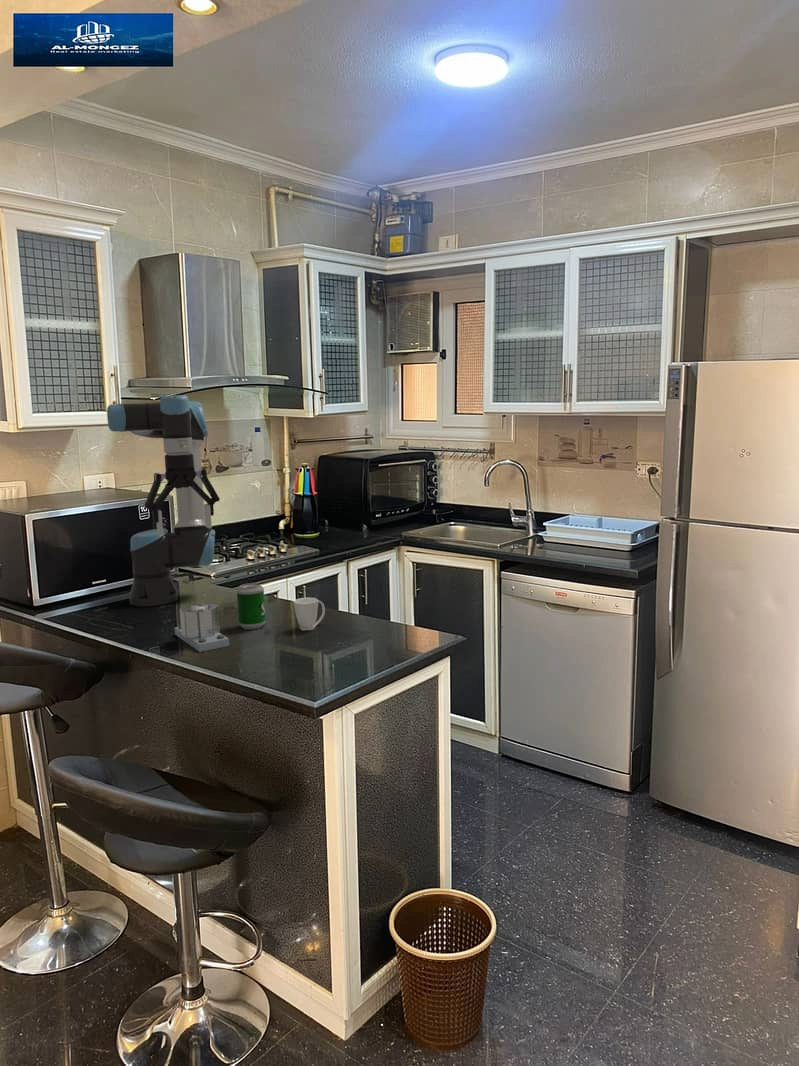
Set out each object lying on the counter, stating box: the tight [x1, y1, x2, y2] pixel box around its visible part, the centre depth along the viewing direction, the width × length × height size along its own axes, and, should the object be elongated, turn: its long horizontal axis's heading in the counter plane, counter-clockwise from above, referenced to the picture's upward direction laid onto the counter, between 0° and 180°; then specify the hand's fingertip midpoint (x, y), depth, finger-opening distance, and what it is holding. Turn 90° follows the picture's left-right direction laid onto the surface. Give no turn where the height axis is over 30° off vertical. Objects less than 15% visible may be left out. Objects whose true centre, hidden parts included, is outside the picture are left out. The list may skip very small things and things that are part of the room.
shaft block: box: [174, 606, 230, 653], centre depth 212 cm, size 20×8×9 cm, turn 34°
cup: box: [292, 597, 326, 631], centre depth 221 cm, size 7×10×8 cm
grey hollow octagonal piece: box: [179, 602, 221, 638], centre depth 212 cm, size 10×10×7 cm
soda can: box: [236, 582, 267, 630], centre depth 223 cm, size 8×8×12 cm
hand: (185, 530), depth 216 cm, fingers open, 13 cm apart
